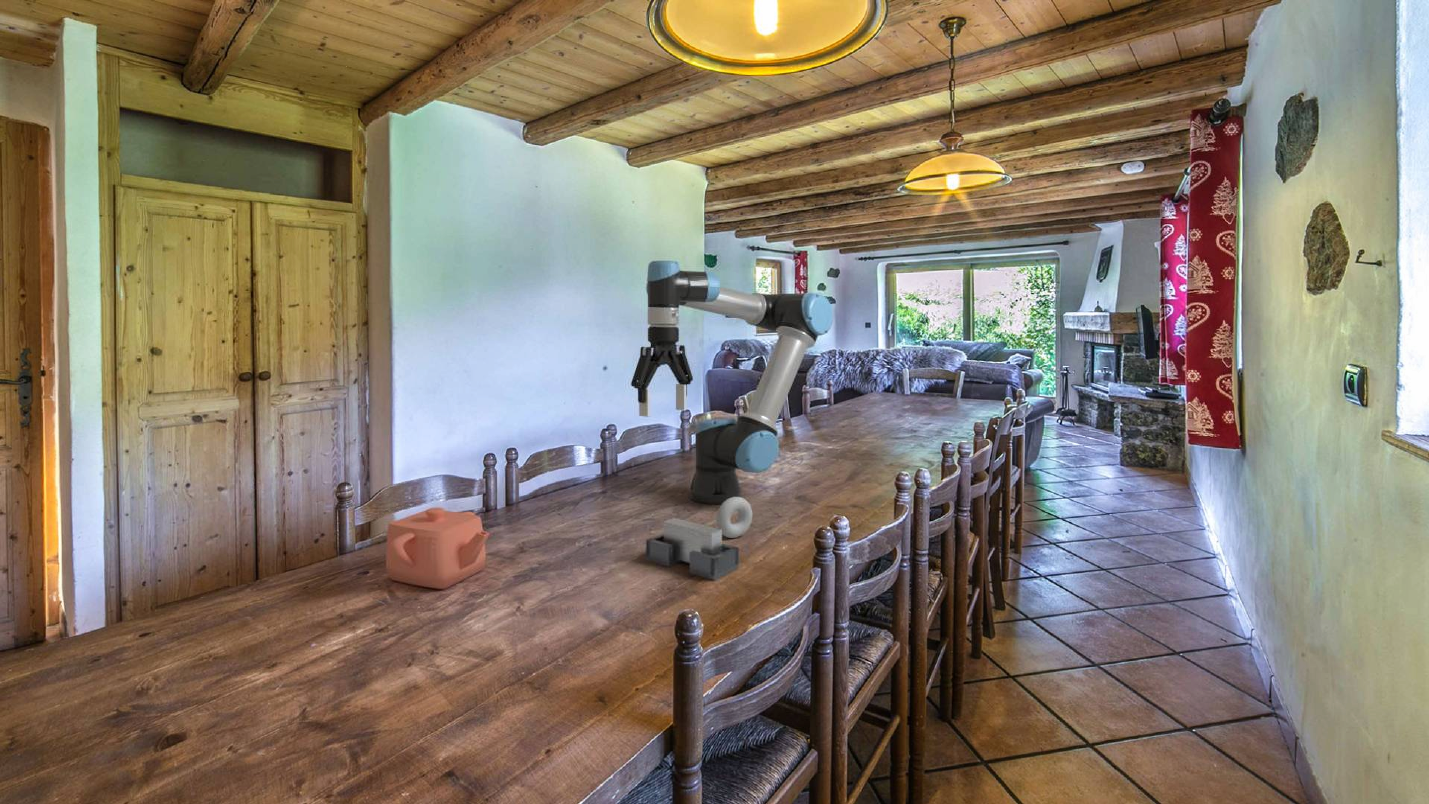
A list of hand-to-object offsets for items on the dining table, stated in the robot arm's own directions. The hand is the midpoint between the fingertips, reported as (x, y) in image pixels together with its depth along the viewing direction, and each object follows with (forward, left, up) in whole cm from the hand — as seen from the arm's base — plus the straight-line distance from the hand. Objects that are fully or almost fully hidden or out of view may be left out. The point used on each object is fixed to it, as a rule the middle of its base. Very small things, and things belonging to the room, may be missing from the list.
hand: (663, 413), depth 167 cm
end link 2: (+16, +28, -29) cm, 43 cm away
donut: (-4, +19, -29) cm, 35 cm away
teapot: (+52, -12, -29) cm, 61 cm away
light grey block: (+16, +22, -28) cm, 39 cm away
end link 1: (+16, +16, -29) cm, 37 cm away
